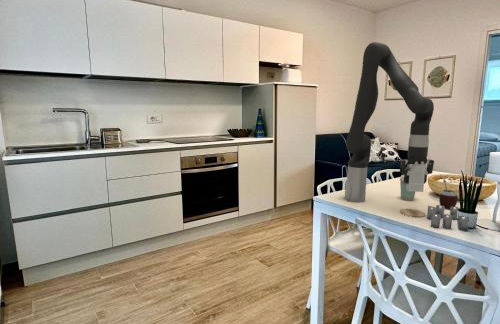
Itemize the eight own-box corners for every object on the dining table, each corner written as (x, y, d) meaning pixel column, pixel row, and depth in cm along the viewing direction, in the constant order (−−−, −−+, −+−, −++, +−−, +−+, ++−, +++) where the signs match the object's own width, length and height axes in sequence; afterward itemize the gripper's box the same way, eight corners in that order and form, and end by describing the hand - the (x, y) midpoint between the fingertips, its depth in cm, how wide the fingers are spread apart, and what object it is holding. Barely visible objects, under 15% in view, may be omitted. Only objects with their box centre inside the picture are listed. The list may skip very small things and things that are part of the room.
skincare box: (420, 189, 138) (422, 163, 136) (423, 192, 134) (425, 164, 132) (405, 189, 139) (407, 162, 137) (407, 191, 135) (410, 164, 133)
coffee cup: (418, 202, 155) (421, 178, 153) (400, 201, 157) (402, 177, 155) (413, 197, 164) (415, 175, 162) (396, 196, 165) (398, 174, 163)
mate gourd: (456, 211, 142) (460, 178, 139) (436, 208, 146) (440, 176, 143) (455, 206, 148) (459, 175, 146) (436, 204, 152) (439, 174, 150)
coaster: (407, 217, 133) (407, 216, 133) (395, 210, 143) (395, 208, 143) (430, 217, 133) (430, 215, 133) (416, 209, 143) (416, 208, 143)
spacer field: (438, 231, 118) (439, 218, 117) (413, 216, 135) (414, 205, 134) (490, 230, 119) (492, 218, 118) (459, 215, 136) (460, 204, 135)
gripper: (406, 146, 129) (403, 185, 132) (440, 146, 130) (436, 185, 133) (397, 144, 137) (394, 181, 139) (429, 144, 137) (425, 181, 140)
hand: (414, 183), depth 136 cm, fingers closed on skincare box, 7 cm apart
